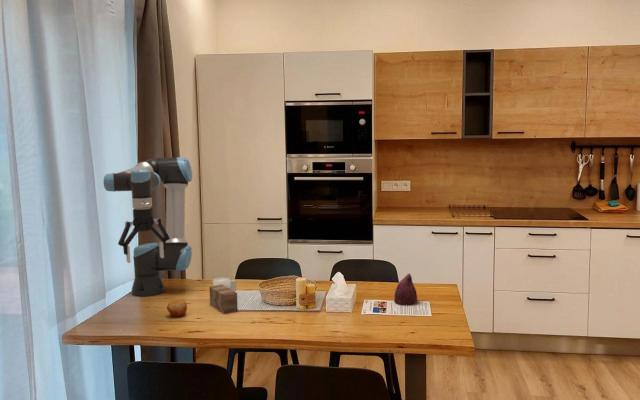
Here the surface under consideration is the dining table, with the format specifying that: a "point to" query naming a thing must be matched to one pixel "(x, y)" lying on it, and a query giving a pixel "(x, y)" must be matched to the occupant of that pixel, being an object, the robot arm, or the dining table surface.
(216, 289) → the brown wooden block
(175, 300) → the fruit
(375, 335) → the dining table surface
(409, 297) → the vegetable
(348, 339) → the dining table surface
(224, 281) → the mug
